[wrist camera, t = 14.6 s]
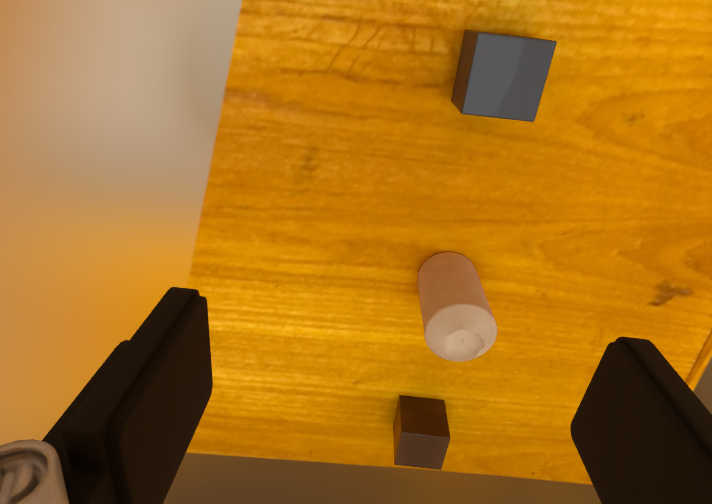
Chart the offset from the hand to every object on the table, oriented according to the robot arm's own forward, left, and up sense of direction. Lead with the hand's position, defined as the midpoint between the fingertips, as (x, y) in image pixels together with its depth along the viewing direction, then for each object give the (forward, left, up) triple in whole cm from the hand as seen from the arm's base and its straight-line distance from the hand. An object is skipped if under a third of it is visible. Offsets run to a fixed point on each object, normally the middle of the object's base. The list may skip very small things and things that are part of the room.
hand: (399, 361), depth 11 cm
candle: (+11, -12, -28) cm, 33 cm away
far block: (+16, -29, -28) cm, 44 cm away
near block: (+6, +6, -28) cm, 30 cm away
